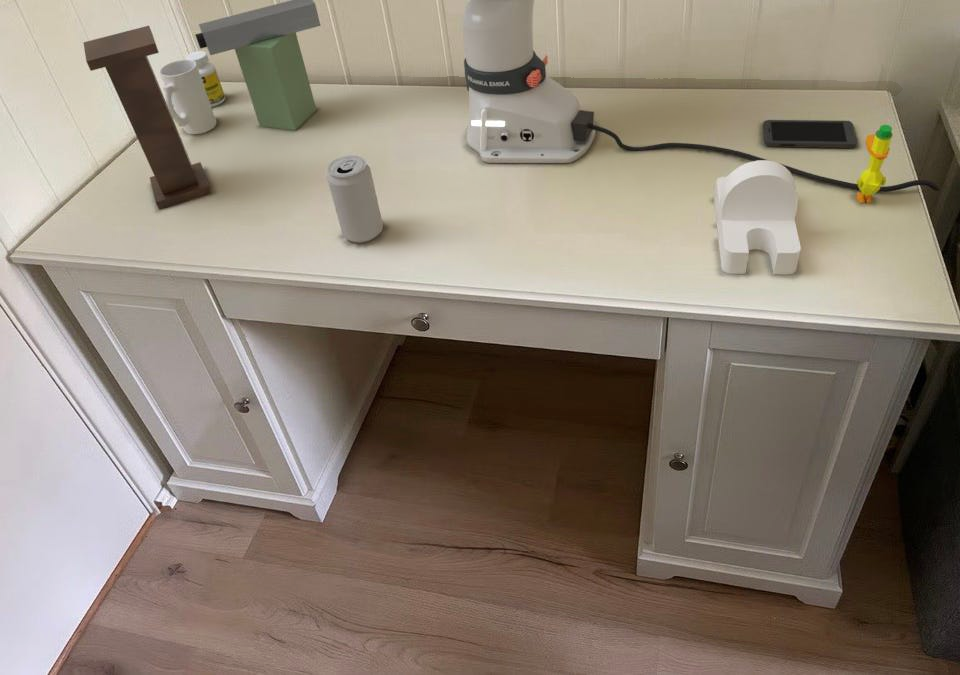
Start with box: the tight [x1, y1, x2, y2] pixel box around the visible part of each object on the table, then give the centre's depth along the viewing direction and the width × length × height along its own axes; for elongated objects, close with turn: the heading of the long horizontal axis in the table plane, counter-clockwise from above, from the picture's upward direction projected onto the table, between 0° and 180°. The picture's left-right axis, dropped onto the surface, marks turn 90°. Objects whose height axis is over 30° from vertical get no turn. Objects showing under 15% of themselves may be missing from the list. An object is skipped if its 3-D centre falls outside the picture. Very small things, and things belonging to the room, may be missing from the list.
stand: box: [82, 25, 212, 210], centre depth 127 cm, size 10×9×26 cm
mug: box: [158, 58, 217, 135], centre depth 147 cm, size 10×7×12 cm, turn 165°
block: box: [234, 32, 317, 131], centre depth 145 cm, size 8×8×16 cm
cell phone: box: [762, 119, 858, 149], centre depth 127 cm, size 7×14×1 cm, turn 78°
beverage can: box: [326, 155, 384, 244], centre depth 117 cm, size 6×6×12 cm
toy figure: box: [855, 124, 893, 204], centre depth 110 cm, size 7×4×12 cm, turn 176°
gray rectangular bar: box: [194, 0, 321, 56], centre depth 138 cm, size 21×4×4 cm, turn 113°
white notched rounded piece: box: [713, 159, 802, 276], centre depth 107 cm, size 10×18×11 cm, turn 171°
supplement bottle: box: [185, 50, 226, 108], centre depth 156 cm, size 5×5×10 cm
